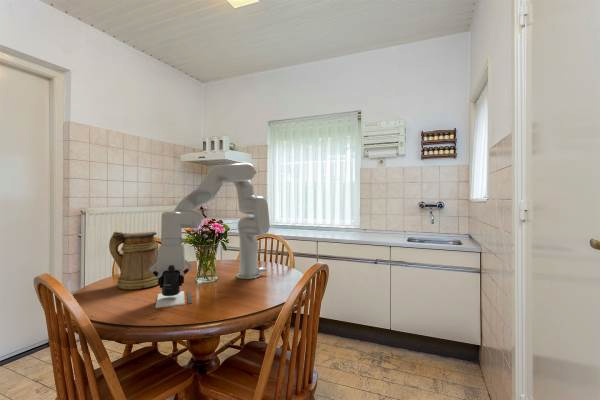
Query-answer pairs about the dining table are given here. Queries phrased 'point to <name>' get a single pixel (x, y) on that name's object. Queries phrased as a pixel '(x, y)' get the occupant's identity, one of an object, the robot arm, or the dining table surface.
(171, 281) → the supplement bottle
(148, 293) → the dining table surface
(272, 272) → the dining table surface
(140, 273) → the tankard
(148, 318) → the dining table surface
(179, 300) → the white tile with strip
